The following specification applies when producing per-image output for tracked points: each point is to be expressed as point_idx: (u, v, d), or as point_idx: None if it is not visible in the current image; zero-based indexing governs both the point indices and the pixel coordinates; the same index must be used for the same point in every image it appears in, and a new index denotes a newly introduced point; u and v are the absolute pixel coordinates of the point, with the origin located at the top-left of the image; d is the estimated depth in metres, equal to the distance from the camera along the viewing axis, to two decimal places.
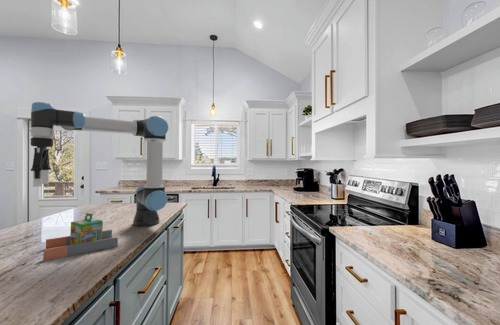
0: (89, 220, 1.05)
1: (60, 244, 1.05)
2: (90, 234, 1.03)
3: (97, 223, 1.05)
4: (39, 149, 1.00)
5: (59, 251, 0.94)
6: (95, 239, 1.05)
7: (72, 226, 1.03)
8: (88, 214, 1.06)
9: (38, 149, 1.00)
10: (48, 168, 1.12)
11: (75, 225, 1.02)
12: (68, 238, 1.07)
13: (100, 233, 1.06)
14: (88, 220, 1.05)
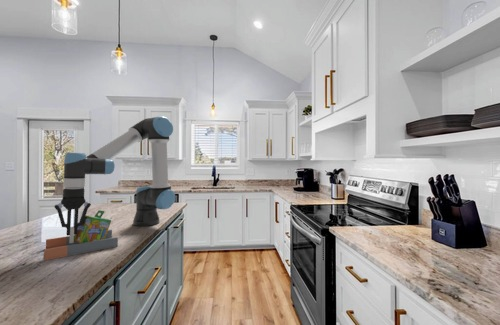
0: (99, 216, 1.09)
1: (60, 244, 1.05)
2: (96, 230, 1.05)
3: (106, 221, 1.09)
4: (55, 207, 0.98)
5: (59, 251, 0.94)
6: (99, 236, 1.06)
7: None
8: (100, 211, 1.11)
9: (55, 207, 0.99)
10: (75, 225, 1.02)
11: (86, 218, 1.05)
12: (68, 238, 1.07)
13: (105, 232, 1.08)
14: (98, 216, 1.09)
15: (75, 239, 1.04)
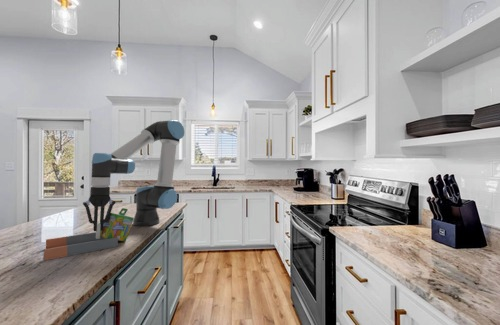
0: (123, 214, 1.14)
1: (60, 244, 1.05)
2: (120, 226, 1.10)
3: (129, 218, 1.14)
4: (83, 204, 1.04)
5: (59, 251, 0.94)
6: (122, 233, 1.11)
7: None
8: (123, 209, 1.17)
9: (83, 204, 1.05)
10: (101, 221, 1.08)
11: (111, 215, 1.11)
12: (68, 238, 1.07)
13: (128, 229, 1.14)
14: (122, 214, 1.14)
15: (101, 235, 1.09)
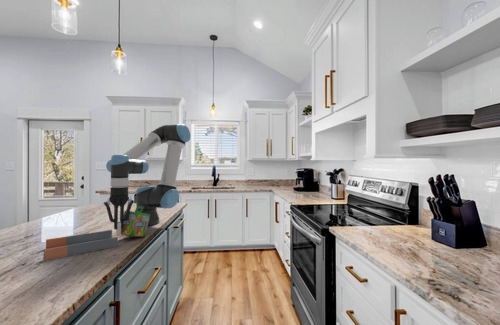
0: (140, 211, 1.21)
1: (60, 244, 1.05)
2: (140, 223, 1.17)
3: (147, 215, 1.21)
4: (104, 204, 1.09)
5: (59, 251, 0.94)
6: (142, 229, 1.18)
7: None
8: (139, 207, 1.23)
9: (104, 204, 1.10)
10: (121, 220, 1.13)
11: (130, 213, 1.17)
12: (68, 238, 1.07)
13: (146, 225, 1.21)
14: (139, 211, 1.21)
15: (121, 232, 1.15)
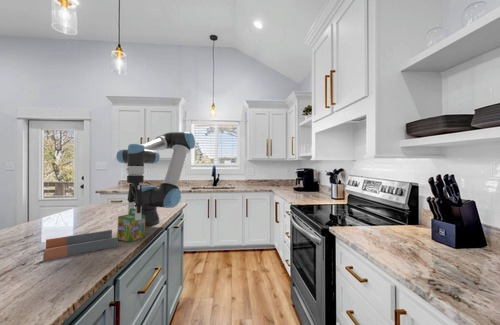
0: (134, 214, 1.17)
1: (60, 244, 1.05)
2: (137, 227, 1.15)
3: (141, 217, 1.18)
4: (139, 186, 1.13)
5: (59, 251, 0.94)
6: (140, 231, 1.17)
7: (120, 220, 1.15)
8: (132, 209, 1.18)
9: (139, 187, 1.13)
10: (133, 200, 1.24)
11: (123, 219, 1.14)
12: (68, 238, 1.07)
13: (143, 226, 1.19)
14: (133, 214, 1.17)
15: (120, 238, 1.14)
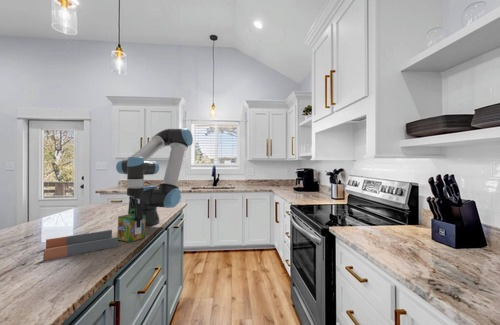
0: (134, 214, 1.17)
1: (60, 244, 1.05)
2: None
3: None
4: (139, 201, 1.13)
5: (59, 251, 0.94)
6: None
7: (120, 220, 1.14)
8: (133, 209, 1.18)
9: (138, 201, 1.13)
10: None
11: (123, 219, 1.13)
12: (68, 238, 1.07)
13: (144, 226, 1.18)
14: (133, 215, 1.17)
15: (120, 238, 1.14)
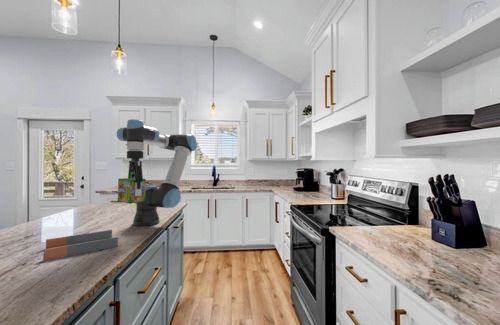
0: (134, 177, 1.17)
1: (60, 244, 1.05)
2: None
3: None
4: (139, 162, 1.14)
5: (59, 251, 0.94)
6: None
7: (120, 182, 1.15)
8: (133, 172, 1.18)
9: (139, 162, 1.13)
10: None
11: (124, 181, 1.14)
12: (68, 238, 1.07)
13: (144, 189, 1.19)
14: (133, 177, 1.17)
15: (120, 200, 1.14)
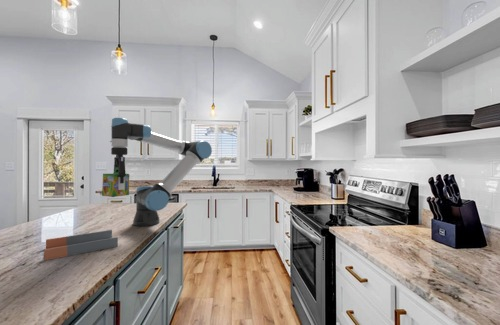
0: (118, 172, 1.23)
1: (60, 244, 1.05)
2: None
3: None
4: (122, 158, 1.20)
5: (59, 251, 0.94)
6: None
7: (104, 177, 1.21)
8: (117, 168, 1.25)
9: (122, 158, 1.20)
10: None
11: (108, 176, 1.20)
12: (68, 238, 1.07)
13: (127, 184, 1.25)
14: (117, 173, 1.24)
15: (104, 194, 1.21)
